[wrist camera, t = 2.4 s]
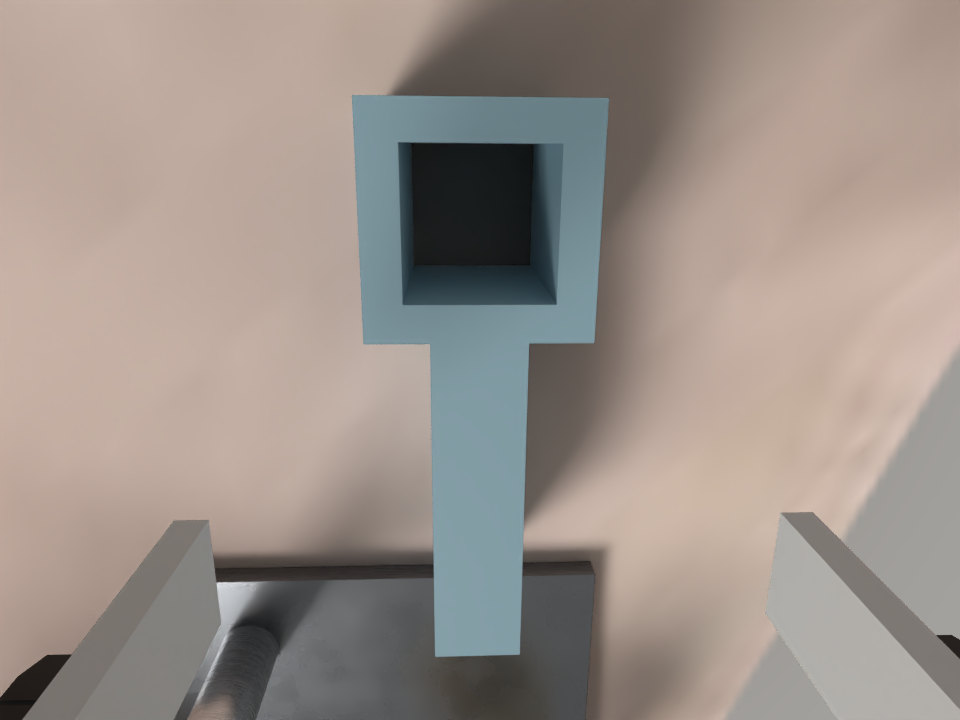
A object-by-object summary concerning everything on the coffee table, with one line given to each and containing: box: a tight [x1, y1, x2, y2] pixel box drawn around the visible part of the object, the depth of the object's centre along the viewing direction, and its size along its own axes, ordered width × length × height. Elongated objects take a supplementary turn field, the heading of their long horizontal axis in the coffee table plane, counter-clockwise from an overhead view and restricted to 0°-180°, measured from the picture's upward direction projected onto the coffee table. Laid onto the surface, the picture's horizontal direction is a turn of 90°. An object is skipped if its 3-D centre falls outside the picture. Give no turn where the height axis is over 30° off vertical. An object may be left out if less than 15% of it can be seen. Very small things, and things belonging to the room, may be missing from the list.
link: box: [352, 95, 609, 657], centre depth 25 cm, size 18×7×7 cm, turn 0°
